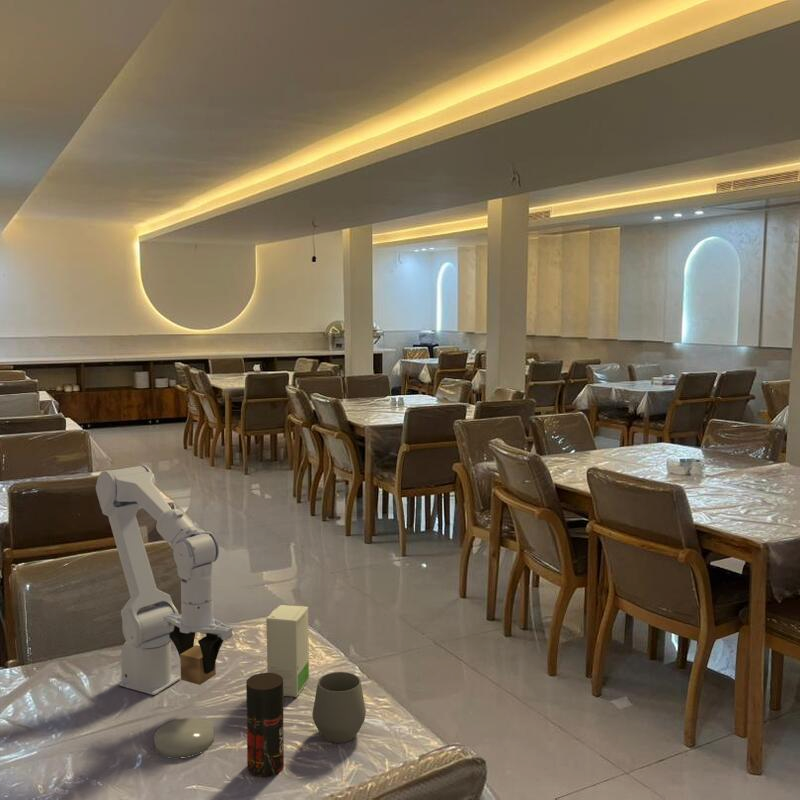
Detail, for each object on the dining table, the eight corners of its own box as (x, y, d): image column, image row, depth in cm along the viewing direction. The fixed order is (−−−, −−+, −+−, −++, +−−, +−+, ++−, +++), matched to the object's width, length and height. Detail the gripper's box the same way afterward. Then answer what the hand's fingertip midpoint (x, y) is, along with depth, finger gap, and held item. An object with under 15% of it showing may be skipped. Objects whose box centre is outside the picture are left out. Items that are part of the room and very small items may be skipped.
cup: (324, 754, 134) (324, 699, 132) (304, 728, 142) (304, 675, 141) (374, 741, 138) (374, 687, 137) (352, 716, 146) (353, 665, 145)
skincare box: (296, 698, 153) (296, 621, 151) (264, 694, 154) (264, 618, 152) (310, 678, 161) (310, 605, 159) (279, 675, 162) (279, 602, 160)
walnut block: (180, 679, 146) (180, 654, 146) (196, 669, 150) (196, 644, 150) (200, 684, 144) (199, 659, 144) (215, 674, 148) (215, 649, 148)
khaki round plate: (142, 751, 135) (141, 740, 134) (180, 723, 144) (180, 713, 143) (189, 765, 131) (188, 754, 130) (225, 735, 140) (225, 724, 139)
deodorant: (249, 757, 133) (248, 673, 131) (284, 756, 133) (284, 672, 131) (245, 778, 127) (244, 690, 125) (282, 777, 127) (281, 689, 125)
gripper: (151, 599, 145) (153, 669, 147) (214, 613, 139) (215, 686, 141) (177, 587, 151) (179, 654, 153) (239, 600, 145) (239, 669, 147)
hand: (198, 668), depth 147 cm, fingers closed on walnut block, 4 cm apart
